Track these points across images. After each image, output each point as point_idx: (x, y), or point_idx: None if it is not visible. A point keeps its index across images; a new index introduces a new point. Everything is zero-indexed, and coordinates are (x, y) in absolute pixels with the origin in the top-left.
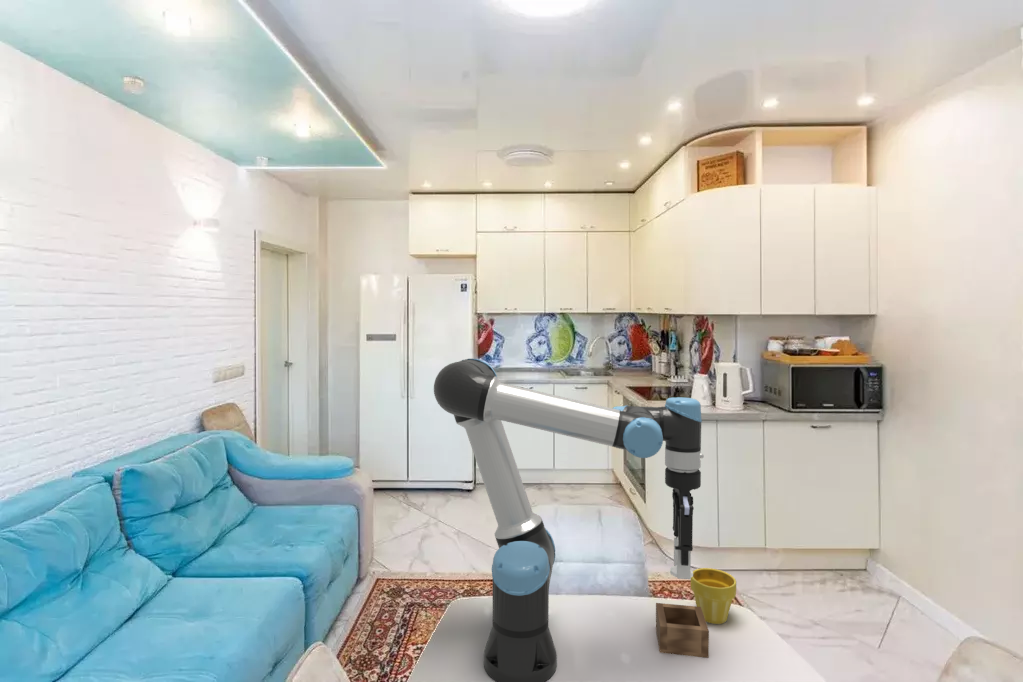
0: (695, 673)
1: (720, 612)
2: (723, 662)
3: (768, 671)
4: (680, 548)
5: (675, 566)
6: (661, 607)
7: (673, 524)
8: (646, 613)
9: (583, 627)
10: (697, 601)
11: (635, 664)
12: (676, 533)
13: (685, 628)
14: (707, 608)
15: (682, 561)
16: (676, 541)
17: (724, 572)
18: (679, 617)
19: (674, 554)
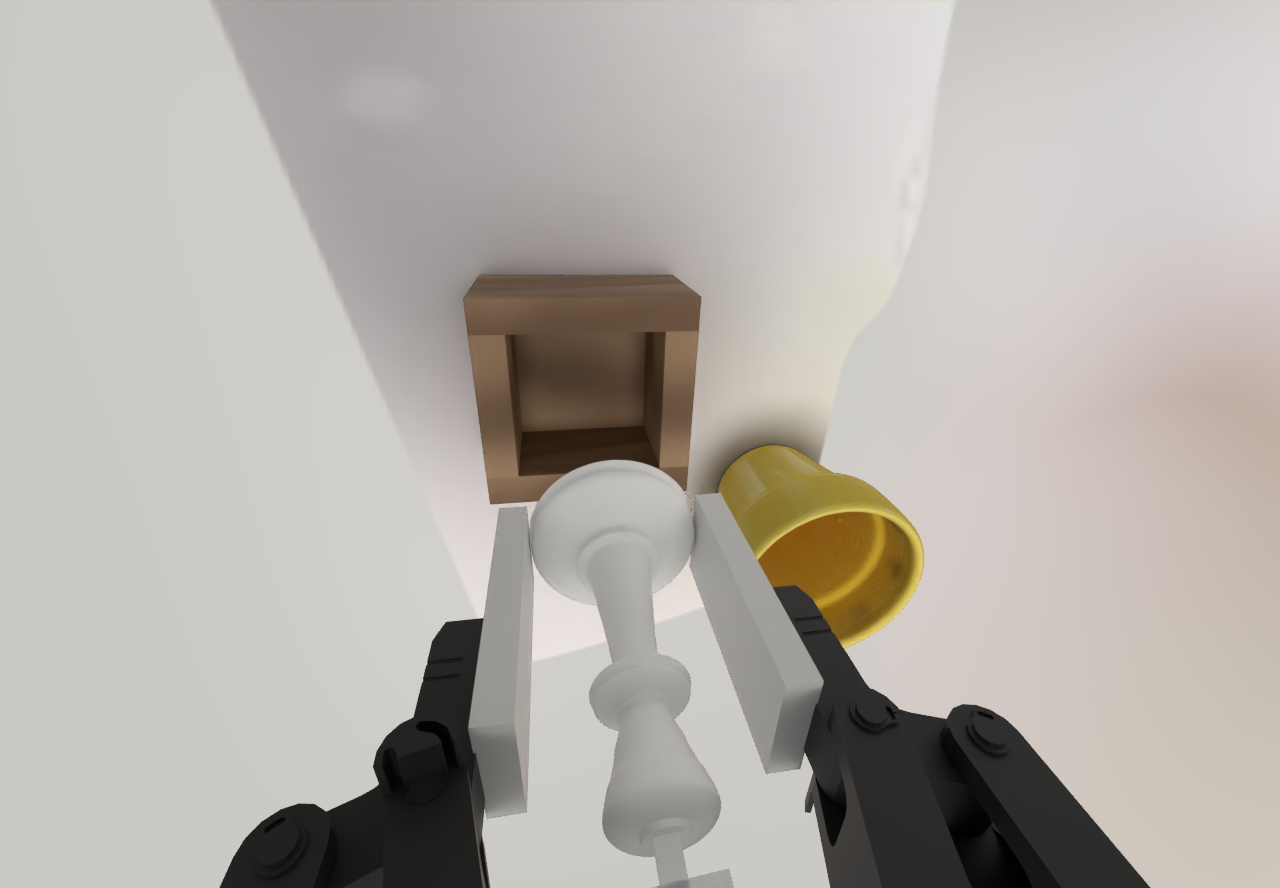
0: (382, 397)
1: None
2: (486, 490)
3: (478, 595)
4: (240, 852)
5: (647, 517)
6: (655, 322)
7: (1022, 789)
8: (780, 242)
9: None
10: (772, 472)
11: (347, 149)
12: (837, 753)
13: (481, 416)
14: (733, 499)
15: (430, 662)
16: (771, 675)
17: (877, 626)
18: (653, 390)
19: (724, 560)
